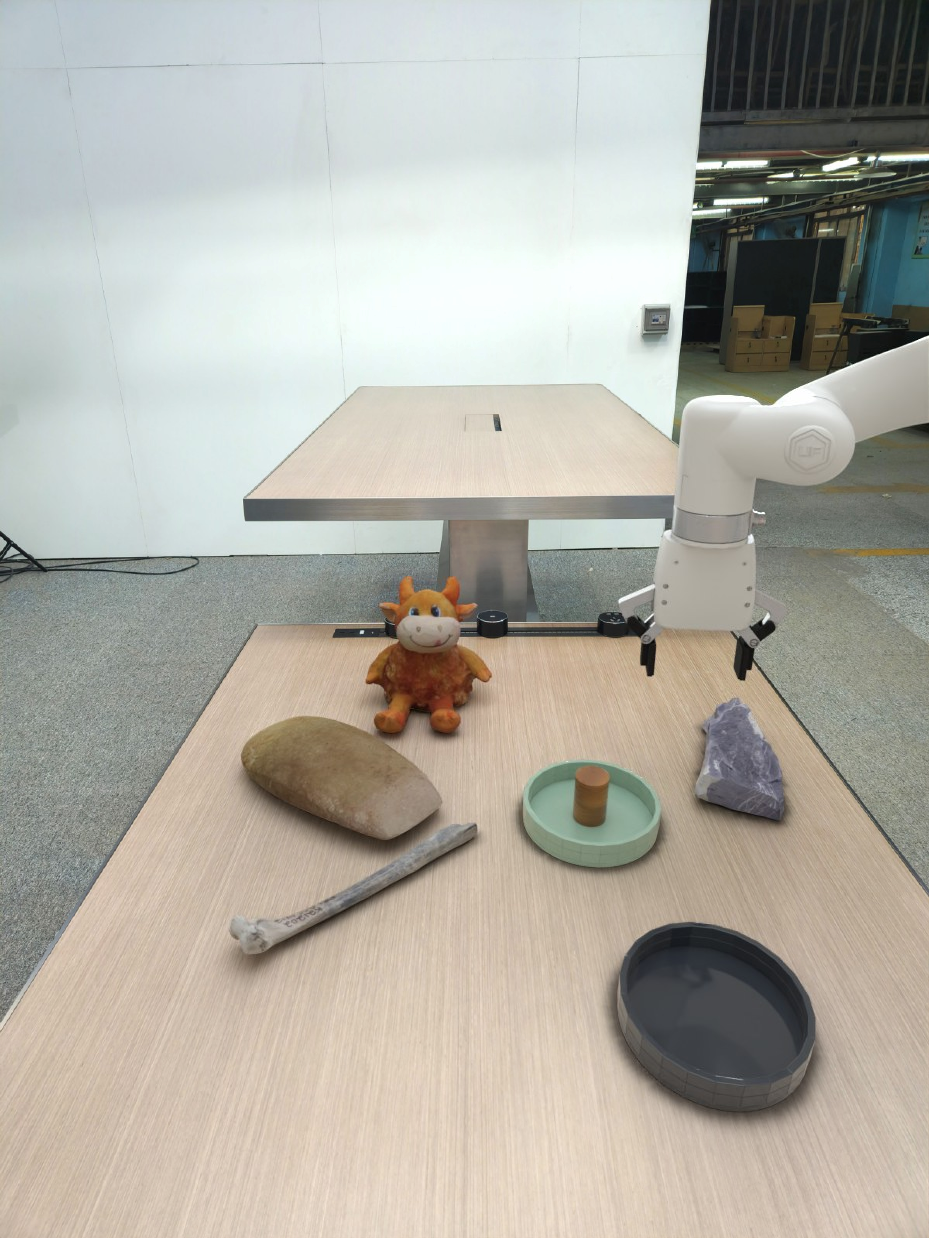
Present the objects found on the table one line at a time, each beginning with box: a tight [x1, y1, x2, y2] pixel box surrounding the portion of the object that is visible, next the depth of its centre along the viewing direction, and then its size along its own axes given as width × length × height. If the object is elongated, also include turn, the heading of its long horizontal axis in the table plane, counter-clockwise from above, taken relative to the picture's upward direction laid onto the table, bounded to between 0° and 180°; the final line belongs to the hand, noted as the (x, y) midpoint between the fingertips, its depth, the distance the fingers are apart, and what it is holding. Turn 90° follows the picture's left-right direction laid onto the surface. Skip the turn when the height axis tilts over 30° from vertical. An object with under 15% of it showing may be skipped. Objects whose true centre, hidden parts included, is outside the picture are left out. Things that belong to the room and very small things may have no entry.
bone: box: [228, 822, 478, 955], centre depth 80 cm, size 29×4×5 cm, turn 129°
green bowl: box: [522, 758, 662, 868], centre depth 90 cm, size 16×16×3 cm
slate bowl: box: [616, 921, 817, 1113], centre depth 66 cm, size 16×16×3 cm
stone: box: [240, 715, 444, 841], centre depth 96 cm, size 30×15×6 cm, turn 51°
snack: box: [573, 766, 610, 827], centre depth 90 cm, size 4×4×6 cm
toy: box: [365, 575, 493, 734], centre depth 116 cm, size 19×22×25 cm
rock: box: [694, 697, 786, 821], centre depth 101 cm, size 25×11×5 cm, turn 161°
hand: (693, 672), depth 83 cm, fingers open, 9 cm apart
